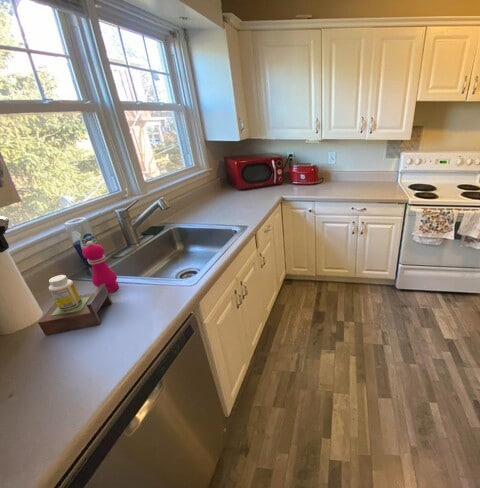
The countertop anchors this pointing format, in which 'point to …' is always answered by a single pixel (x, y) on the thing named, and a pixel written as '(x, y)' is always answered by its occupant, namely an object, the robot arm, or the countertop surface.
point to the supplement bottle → (64, 292)
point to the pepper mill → (100, 267)
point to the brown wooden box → (76, 313)
